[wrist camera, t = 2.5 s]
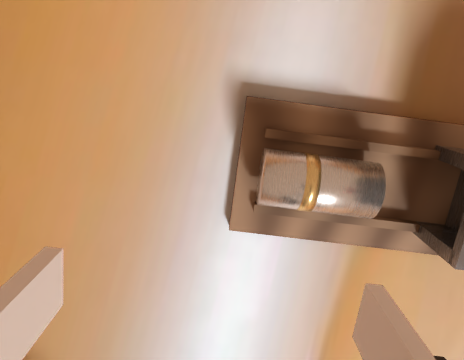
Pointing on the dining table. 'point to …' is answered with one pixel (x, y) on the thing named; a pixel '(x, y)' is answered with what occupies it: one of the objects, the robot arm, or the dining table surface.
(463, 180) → the gate valve
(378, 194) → the pipe
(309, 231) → the board
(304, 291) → the dining table surface
